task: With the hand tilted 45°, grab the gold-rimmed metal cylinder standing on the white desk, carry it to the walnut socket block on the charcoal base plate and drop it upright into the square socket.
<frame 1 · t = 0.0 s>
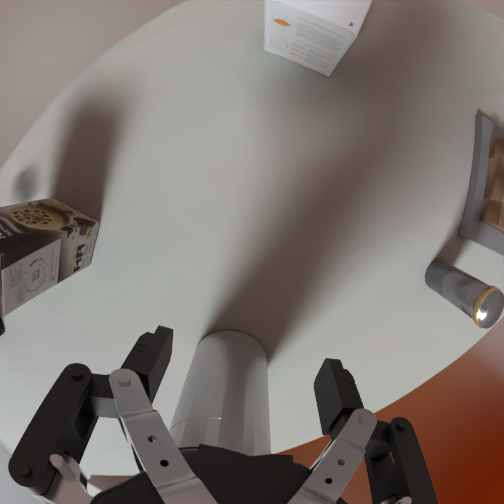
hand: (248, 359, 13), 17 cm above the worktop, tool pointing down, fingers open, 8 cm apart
gold-rimmed metal cylinder: (436, 274, 30), on the worktop
coffee box: (70, 229, 29), on the worktop
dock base: (500, 191, 26), on the worktop
small box: (303, 47, 24), on the worktop
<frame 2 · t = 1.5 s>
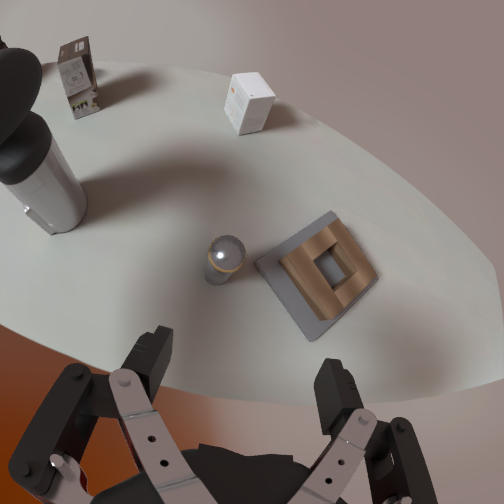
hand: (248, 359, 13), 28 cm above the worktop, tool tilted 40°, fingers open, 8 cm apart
gold-rimmed metal cylinder: (216, 272, 42), on the worktop
coffee box: (86, 103, 45), on the worktop
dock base: (320, 273, 47), on the worktop
small box: (242, 120, 52), on the worktop
socket block: (324, 271, 45), resting on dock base
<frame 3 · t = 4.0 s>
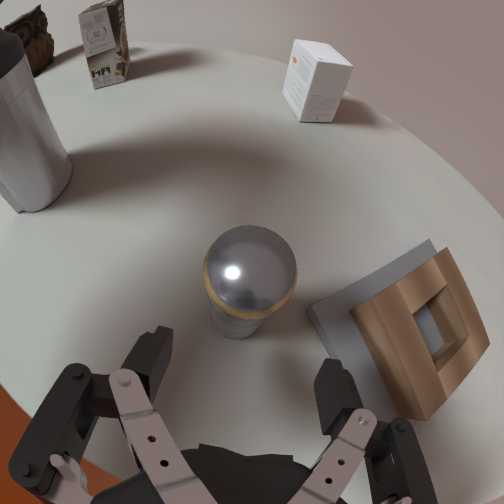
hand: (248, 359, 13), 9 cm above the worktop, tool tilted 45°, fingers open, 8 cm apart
gold-rimmed metal cylinder: (235, 316, 23), on the worktop
coffee box: (113, 75, 38), on the worktop
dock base: (409, 337, 24), on the worktop
owl: (35, 71, 41), on the worktop
small box: (305, 108, 37), on the worktop
socket block: (418, 334, 22), resting on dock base
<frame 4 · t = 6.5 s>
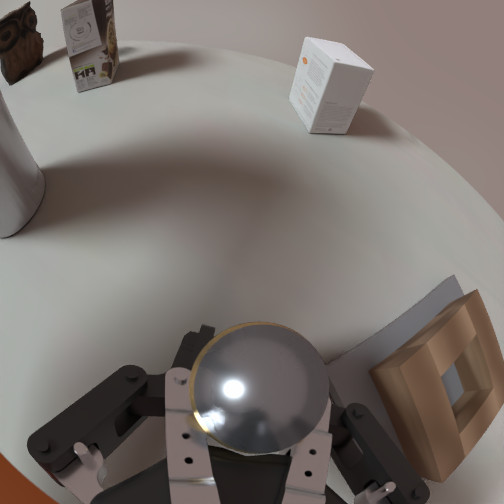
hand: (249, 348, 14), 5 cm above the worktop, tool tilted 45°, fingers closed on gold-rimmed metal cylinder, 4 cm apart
gold-rimmed metal cylinder: (234, 381, 18), on the worktop, touching gripper
coffee box: (100, 77, 33), on the worktop
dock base: (428, 388, 19), on the worktop
owl: (23, 72, 36), on the worktop
small box: (315, 117, 33), on the worktop
socket block: (439, 387, 17), resting on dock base
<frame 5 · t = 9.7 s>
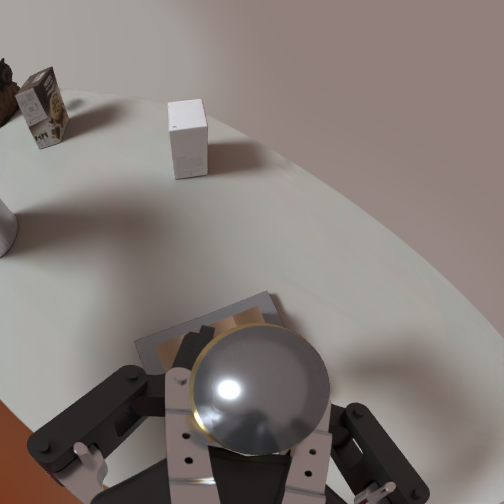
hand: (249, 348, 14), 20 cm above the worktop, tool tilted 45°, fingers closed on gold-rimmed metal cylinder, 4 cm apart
gold-rimmed metal cylinder: (234, 381, 18), point 14 cm above the worktop, touching gripper
coffee box: (55, 134, 45), on the worktop
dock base: (226, 376, 31), on the worktop
owl: (6, 115, 48), on the worktop
small box: (189, 162, 45), on the worktop
socket block: (227, 377, 29), resting on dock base
when the fingers open (9 cm above the worktop, at t = 12.9 s): gold-rimmed metal cylinder drops 2 cm, resting on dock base.
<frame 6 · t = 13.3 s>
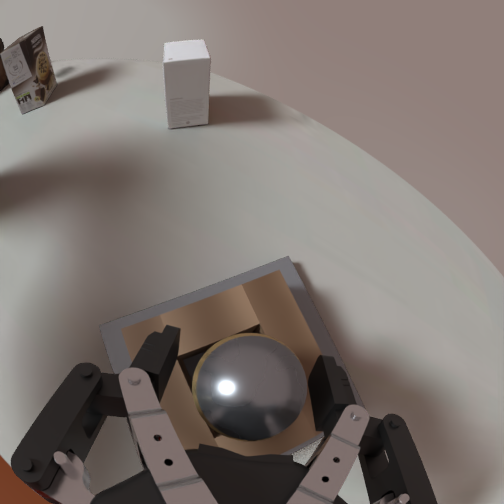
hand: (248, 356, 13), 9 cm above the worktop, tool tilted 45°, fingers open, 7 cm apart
gold-rimmed metal cylinder: (231, 381, 19), point 2 cm above the worktop, touching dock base
coffee box: (40, 99, 35), on the worktop
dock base: (232, 380, 21), on the worktop
small box: (186, 112, 35), on the worktop
socket block: (233, 380, 19), resting on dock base
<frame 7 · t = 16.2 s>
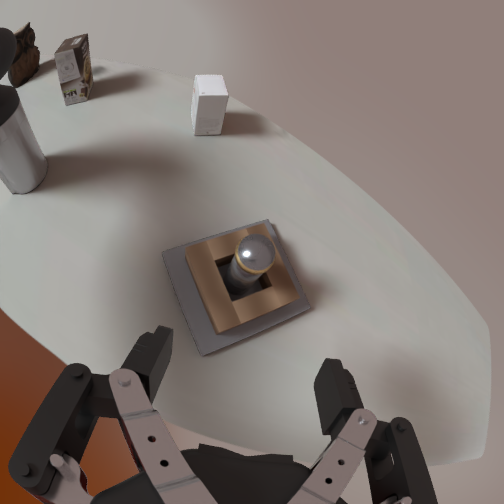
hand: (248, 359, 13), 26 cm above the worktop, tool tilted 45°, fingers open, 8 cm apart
gold-rimmed metal cylinder: (236, 282, 40), point 2 cm above the worktop, touching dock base
coffee box: (80, 94, 49), on the worktop
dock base: (236, 284, 41), on the worktop
owl: (24, 77, 48), on the worktop
small box: (204, 123, 52), on the worktop
socket block: (237, 281, 40), resting on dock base
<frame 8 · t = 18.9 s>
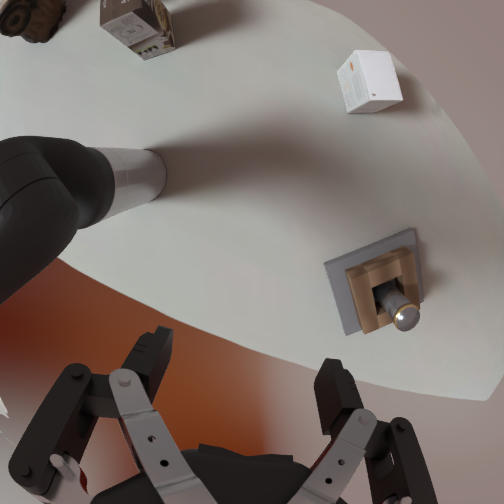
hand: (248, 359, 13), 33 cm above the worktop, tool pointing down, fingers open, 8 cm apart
gold-rimmed metal cylinder: (380, 286, 46), point 2 cm above the worktop, touching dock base
coffee box: (158, 36, 34), on the worktop
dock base: (378, 282, 47), on the worktop
owl: (48, 22, 30), on the worktop
small box: (355, 91, 37), on the worktop
socket block: (381, 285, 46), resting on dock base
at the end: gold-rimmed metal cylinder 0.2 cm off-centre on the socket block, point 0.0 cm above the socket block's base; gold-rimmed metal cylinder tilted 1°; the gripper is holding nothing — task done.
